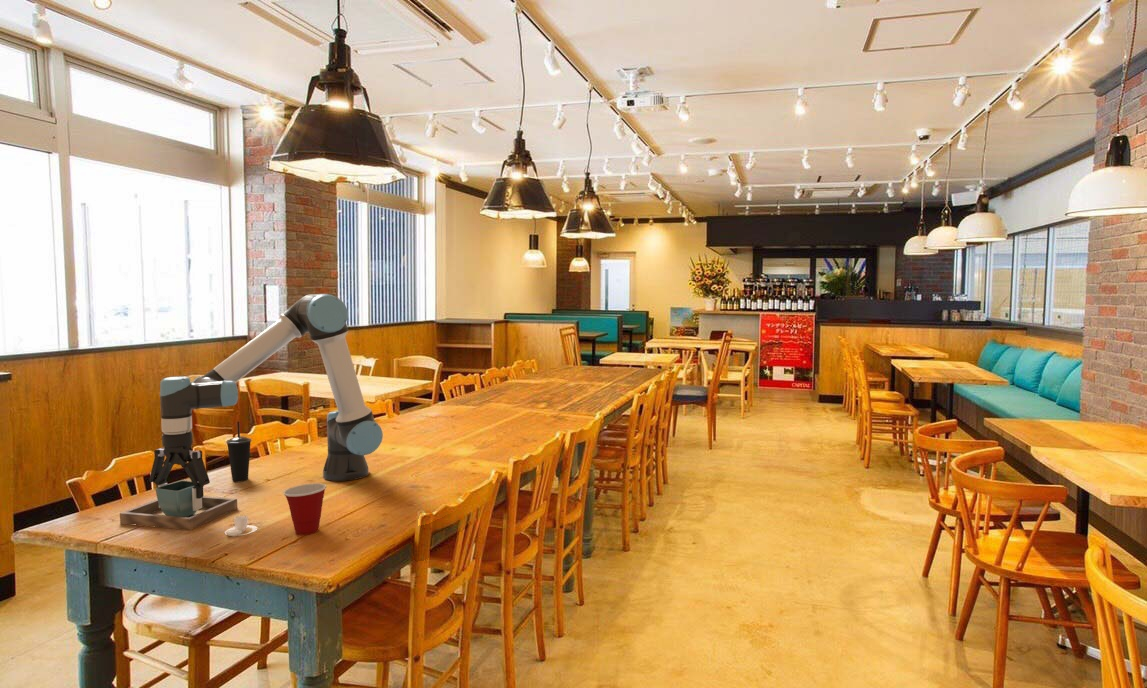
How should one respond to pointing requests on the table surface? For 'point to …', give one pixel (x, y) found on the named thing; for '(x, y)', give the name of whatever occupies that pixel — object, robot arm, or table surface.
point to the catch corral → (144, 516)
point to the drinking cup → (239, 456)
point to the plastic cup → (306, 506)
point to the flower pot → (176, 498)
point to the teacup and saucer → (240, 527)
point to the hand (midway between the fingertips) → (180, 507)
